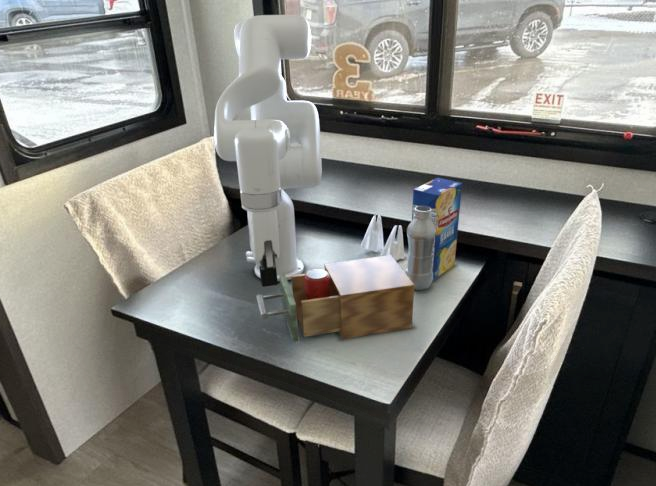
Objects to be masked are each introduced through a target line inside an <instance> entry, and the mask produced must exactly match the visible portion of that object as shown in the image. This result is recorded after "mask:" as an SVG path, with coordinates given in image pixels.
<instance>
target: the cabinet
mask: <svg viewBox="0 0 656 486" xmlns="http://www.w3.org/2000/svg"><path fill="white" fill-rule="evenodd" d="M323 267H324V269H323V270H325V271H327V272H328V273H329V277H330V279H331V281H332V283H333V284H334V286H335V288H336V290H337V292H338V294H339V296H340V322H341V331H338V334H339V336H340V338H341V340H346V339H352V338H358V337H364V336H370V335H377V334H383V333H389V332H396V331H401V330H407V329H408V330H409V329H412V328H413V316H414V297H415V289H414V284H413V282H412V281H411V280H410V278H409V277H408V276H407V275H406V271H404V269H403V268H402V267H401V266H400V264H399V263H398V262H397V261H395V259H394V258H393V257H392V255H387V256H381V255H380V256H374V257H373V256H371V257H365V258H358V259H351V260H341V261H336V262H327V263H323Z"/></svg>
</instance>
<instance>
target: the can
mask: <svg viewBox="0 0 656 486" xmlns="http://www.w3.org/2000/svg"><path fill="white" fill-rule="evenodd" d="M304 274H305V275H304V277H305V295H306V300H310V299H317V298H324V297H330V277H329V273H328V272H327V271H325V269H322V268H313V269H310V270H308V271H306V272H305V273H304Z"/></svg>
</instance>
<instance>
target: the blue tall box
mask: <svg viewBox="0 0 656 486" xmlns="http://www.w3.org/2000/svg"><path fill="white" fill-rule="evenodd" d="M462 190H463V182H459V181H455V180H450V179H446V178H441V177H436V178H434V179H431V180H430V181H427V182H426V183H424V184H422V185H420V186H418V187H416V188H413V189H412V191H413V192H412V209H411V210H412V211H411V221H412V220H413V219H414V218H415V217H414V212H415V207H417V206H428V207H430V208H431V218H430V220H431V221H432V222H433V224H434V226H435V229H436V235H435V239H434V244H433V250H432V271H433V281H434V280H436V279H437V278H438V277H439V276H441V275H443V274H444V273H446V272H448V270H450V269H451V268H452V267H454V266H455V261H456V251H457V243H458V241H457V240H458V231H459V221H460V212H461V211H460V210H461V202H462V201H461V200H462Z"/></svg>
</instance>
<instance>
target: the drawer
mask: <svg viewBox="0 0 656 486" xmlns="http://www.w3.org/2000/svg"><path fill="white" fill-rule="evenodd" d="M304 275H305V273H301V274H299V275H292V276H291V278H292V279H291V287H290V285H289V281H288V280H287V279H286V276H285V274H281V275H279V277H280V281H279V287H280V293H275V294H267V295H262V294H257V295H256V297H255V298H256V303H257V306H258V311H259V315H260V318H261V319H262V320H266V319H267V318H268V317H273V316H279V315H280V316H281V315H283V316H284V319H285V322H286V326H287V329H288V331H289V335H290V338H291V341H292V342H293V343H295V342H299V329H298V328H299V327H300V329H301V332H302V336H303V337H304V338H306V337H311V336H313V337H314V336H318V335H323V334H331V333H337V332H338V331H341V322H340V296H339V294H338V292H337V290H336V288H335V286H334V284H333V283H332V281H331V279H330V297H324V298H317V299H310V300H306V295H305V277H304ZM291 289H292V290H291ZM276 298H281V299H280V301H281V310H276V311H267V307H266V304H265V300H271V299H276ZM298 323H299V327H298ZM338 333H339V332H338Z"/></svg>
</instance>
